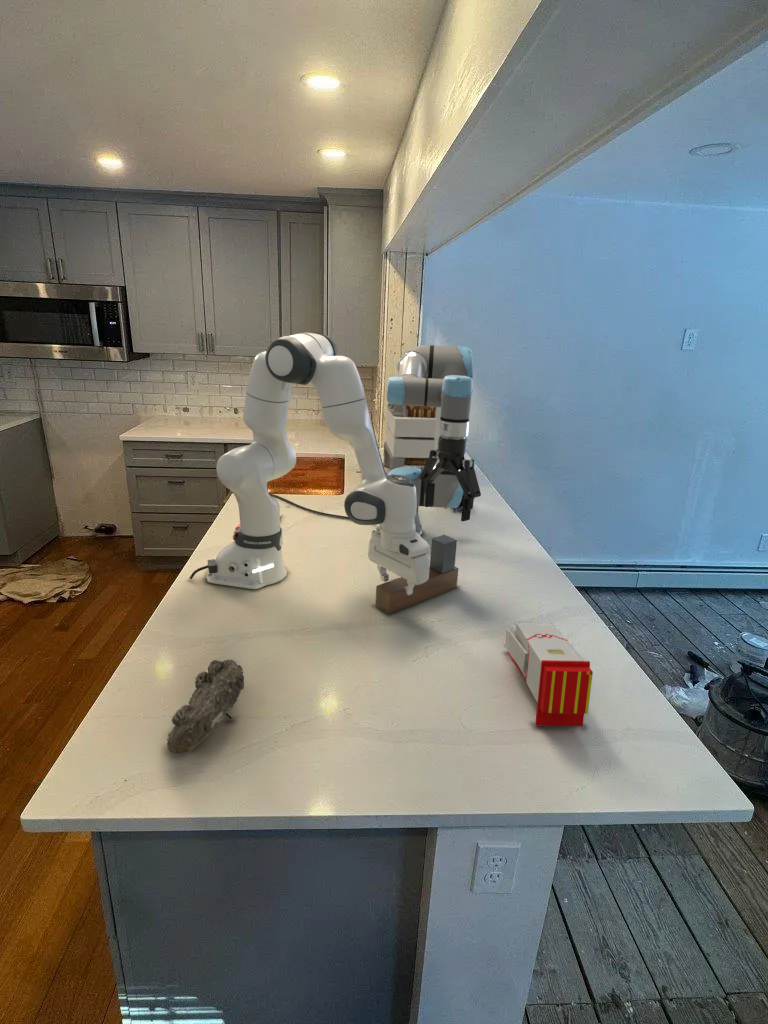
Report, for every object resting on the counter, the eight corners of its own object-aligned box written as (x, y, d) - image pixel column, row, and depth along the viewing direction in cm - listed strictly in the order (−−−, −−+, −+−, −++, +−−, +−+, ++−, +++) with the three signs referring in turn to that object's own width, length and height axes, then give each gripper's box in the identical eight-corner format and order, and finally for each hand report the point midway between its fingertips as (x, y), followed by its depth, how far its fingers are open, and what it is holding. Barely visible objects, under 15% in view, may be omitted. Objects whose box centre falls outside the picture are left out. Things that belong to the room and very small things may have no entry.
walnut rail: (375, 605, 151) (376, 585, 149) (443, 580, 167) (444, 561, 165) (388, 614, 147) (390, 593, 145) (456, 587, 163) (458, 568, 161)
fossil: (192, 660, 117) (244, 628, 112) (224, 691, 120) (276, 661, 115) (142, 746, 98) (202, 712, 93) (182, 779, 101) (242, 748, 96)
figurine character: (467, 516, 223) (461, 500, 237) (469, 499, 220) (463, 483, 233) (450, 516, 223) (446, 499, 236) (452, 498, 220) (447, 483, 233)
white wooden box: (382, 463, 289) (386, 382, 275) (445, 464, 293) (451, 384, 279) (390, 482, 257) (394, 392, 243) (460, 483, 261) (468, 394, 247)
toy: (550, 607, 134) (601, 667, 105) (545, 659, 137) (594, 732, 108) (499, 606, 134) (537, 666, 104) (495, 659, 137) (530, 731, 107)
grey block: (429, 567, 161) (431, 538, 158) (441, 563, 164) (444, 534, 161) (442, 573, 157) (444, 544, 154) (454, 569, 161) (457, 540, 157)
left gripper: (362, 529, 150) (362, 576, 155) (416, 553, 136) (413, 605, 140) (381, 524, 154) (379, 570, 159) (434, 547, 139) (431, 597, 144)
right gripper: (410, 429, 154) (405, 503, 161) (480, 448, 137) (472, 529, 144) (429, 426, 159) (424, 498, 166) (500, 444, 141) (491, 523, 149)
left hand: (396, 587), depth 149 cm, fingers open, 8 cm apart
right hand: (446, 513), depth 155 cm, fingers open, 13 cm apart
